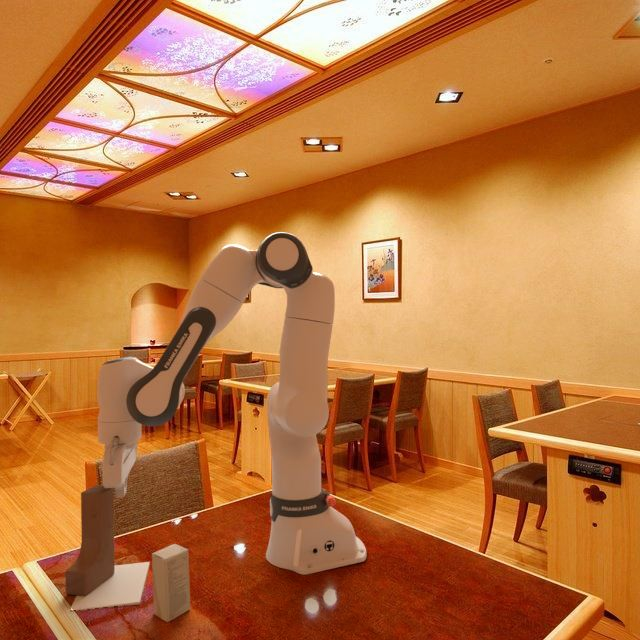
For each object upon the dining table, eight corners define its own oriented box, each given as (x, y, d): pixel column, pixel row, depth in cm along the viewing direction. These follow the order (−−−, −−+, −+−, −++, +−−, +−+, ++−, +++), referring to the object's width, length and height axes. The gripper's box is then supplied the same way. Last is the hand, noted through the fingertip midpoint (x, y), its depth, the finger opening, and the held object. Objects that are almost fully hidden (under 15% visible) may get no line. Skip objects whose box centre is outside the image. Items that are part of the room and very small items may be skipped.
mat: (149, 564, 109) (149, 561, 109) (139, 604, 94) (139, 601, 94) (90, 570, 107) (90, 568, 107) (69, 613, 91) (69, 610, 91)
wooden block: (84, 597, 96) (83, 501, 96) (64, 594, 97) (63, 500, 97) (115, 574, 104) (114, 486, 104) (96, 571, 105) (95, 485, 105)
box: (177, 601, 94) (176, 542, 95) (191, 609, 92) (190, 548, 92) (151, 614, 90) (150, 552, 90) (165, 623, 88) (164, 559, 88)
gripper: (127, 442, 101) (128, 511, 101) (141, 422, 121) (142, 480, 121) (93, 444, 99) (94, 514, 99) (113, 423, 119) (114, 482, 119)
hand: (121, 495), depth 110 cm, fingers closed
